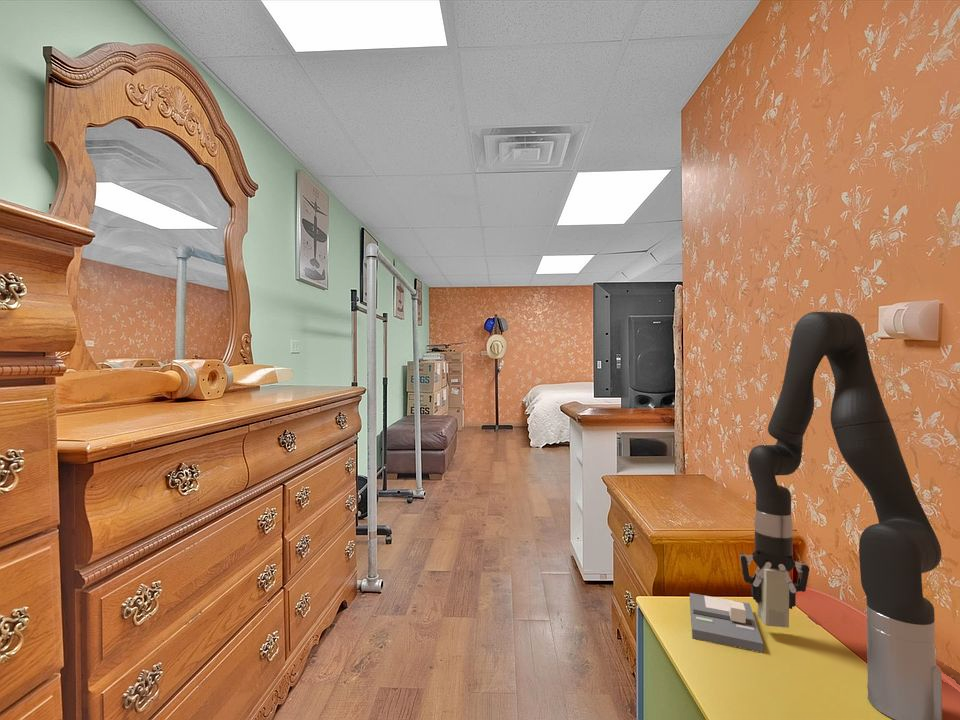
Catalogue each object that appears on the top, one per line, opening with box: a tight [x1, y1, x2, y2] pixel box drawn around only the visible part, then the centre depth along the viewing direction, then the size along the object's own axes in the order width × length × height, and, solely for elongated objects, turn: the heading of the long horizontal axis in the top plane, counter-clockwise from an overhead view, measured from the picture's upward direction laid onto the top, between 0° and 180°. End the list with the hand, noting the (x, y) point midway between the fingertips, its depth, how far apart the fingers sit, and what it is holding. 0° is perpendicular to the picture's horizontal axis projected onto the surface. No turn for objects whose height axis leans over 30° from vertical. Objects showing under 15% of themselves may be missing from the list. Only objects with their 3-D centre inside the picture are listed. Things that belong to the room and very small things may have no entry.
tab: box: [728, 599, 746, 623], centre depth 111 cm, size 3×4×3 cm
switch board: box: [689, 592, 764, 654], centre depth 113 cm, size 14×20×2 cm
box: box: [757, 566, 790, 628], centre depth 109 cm, size 5×4×13 cm
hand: (773, 604), depth 109 cm, fingers closed on box, 6 cm apart
